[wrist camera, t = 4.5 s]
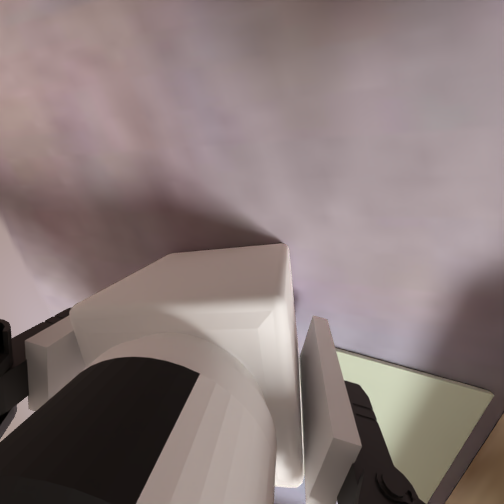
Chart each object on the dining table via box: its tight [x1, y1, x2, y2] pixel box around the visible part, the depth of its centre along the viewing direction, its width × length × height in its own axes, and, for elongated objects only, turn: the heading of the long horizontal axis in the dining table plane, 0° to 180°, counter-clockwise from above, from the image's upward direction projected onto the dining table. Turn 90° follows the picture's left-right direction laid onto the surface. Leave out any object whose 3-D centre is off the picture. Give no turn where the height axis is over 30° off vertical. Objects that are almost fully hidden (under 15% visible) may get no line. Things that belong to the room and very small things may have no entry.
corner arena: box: [445, 413, 504, 504], centre depth 13 cm, size 21×16×5 cm
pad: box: [300, 348, 494, 504], centre depth 15 cm, size 10×10×1 cm
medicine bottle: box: [0, 243, 304, 504], centre depth 9 cm, size 7×7×12 cm
